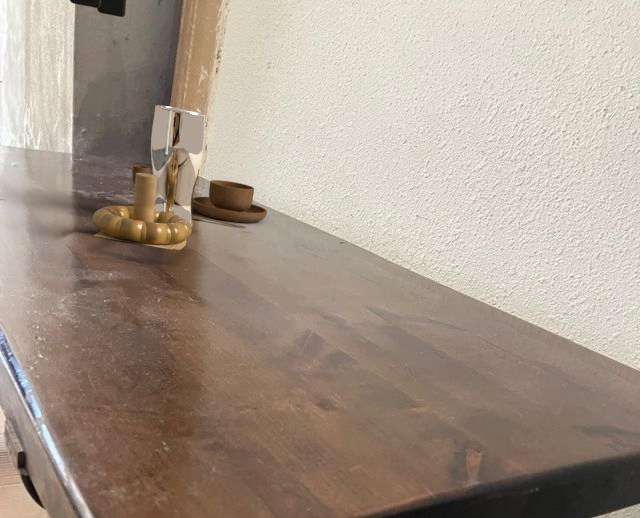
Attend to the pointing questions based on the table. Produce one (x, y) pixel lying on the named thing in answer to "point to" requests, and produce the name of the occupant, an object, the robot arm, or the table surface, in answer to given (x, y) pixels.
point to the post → (145, 207)
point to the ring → (142, 226)
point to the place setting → (223, 201)
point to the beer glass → (176, 158)
